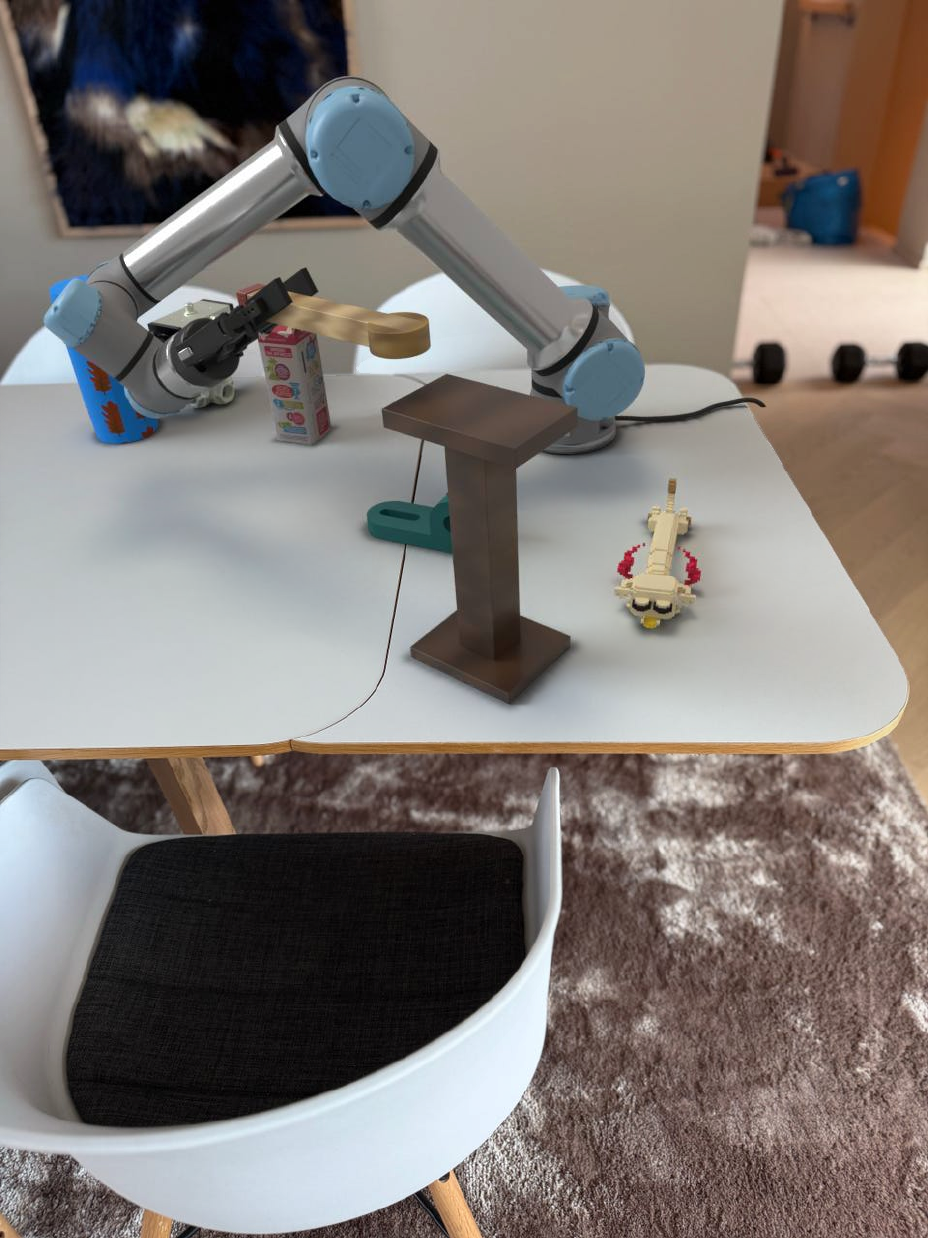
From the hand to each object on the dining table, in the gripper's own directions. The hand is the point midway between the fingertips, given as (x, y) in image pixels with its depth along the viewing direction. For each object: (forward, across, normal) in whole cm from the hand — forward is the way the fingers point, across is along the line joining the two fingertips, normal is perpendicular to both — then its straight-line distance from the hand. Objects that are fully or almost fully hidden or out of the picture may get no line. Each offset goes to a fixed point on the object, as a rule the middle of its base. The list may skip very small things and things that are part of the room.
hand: (296, 285), depth 94 cm
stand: (+1, 0, -45) cm, 45 cm away
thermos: (-76, -13, 0) cm, 77 cm away
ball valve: (-73, -29, -2) cm, 79 cm away
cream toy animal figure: (+9, -24, -49) cm, 55 cm away
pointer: (+1, 0, -5) cm, 5 cm away
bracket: (-18, -16, -34) cm, 41 cm away
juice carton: (-51, -28, -14) cm, 61 cm away
